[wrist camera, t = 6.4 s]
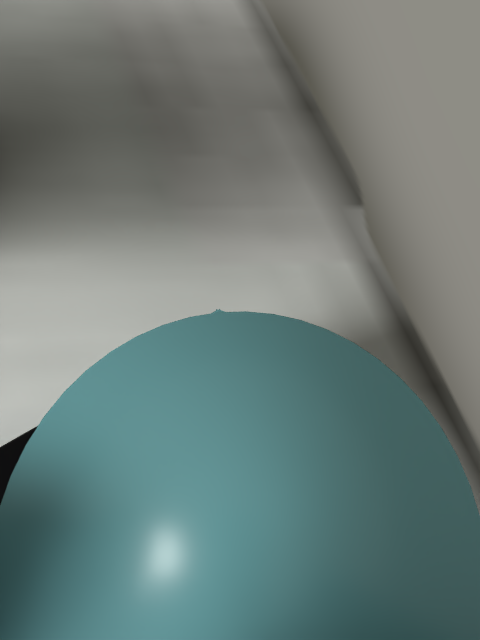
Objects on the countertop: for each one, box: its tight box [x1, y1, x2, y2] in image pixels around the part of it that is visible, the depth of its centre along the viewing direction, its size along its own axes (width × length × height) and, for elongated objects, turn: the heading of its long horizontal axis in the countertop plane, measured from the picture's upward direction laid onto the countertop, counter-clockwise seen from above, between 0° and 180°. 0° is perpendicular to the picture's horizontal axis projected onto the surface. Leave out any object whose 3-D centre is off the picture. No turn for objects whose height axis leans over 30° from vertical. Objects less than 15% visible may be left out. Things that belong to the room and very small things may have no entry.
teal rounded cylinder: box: [0, 309, 480, 640], centre depth 10 cm, size 7×7×11 cm
